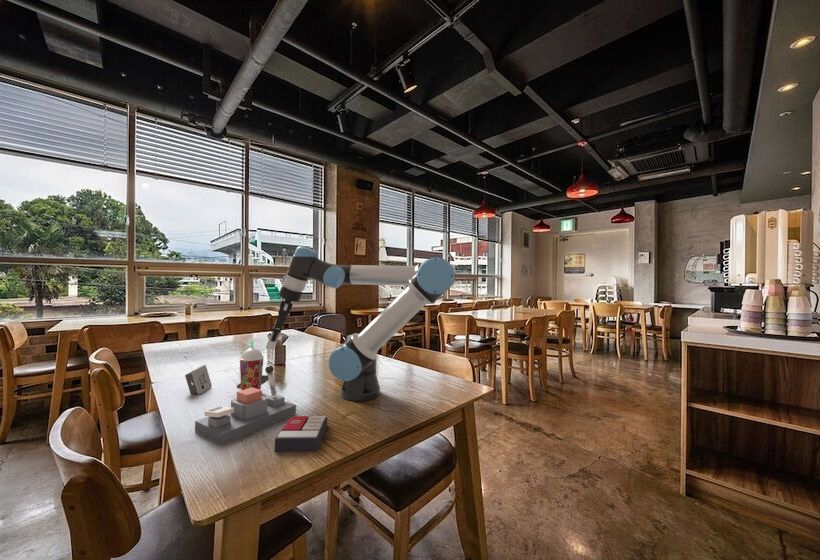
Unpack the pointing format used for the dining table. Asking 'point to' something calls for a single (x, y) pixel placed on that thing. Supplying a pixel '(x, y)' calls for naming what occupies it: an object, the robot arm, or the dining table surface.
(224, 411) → the rocker switch
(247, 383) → the smoothie
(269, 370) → the toggle lever
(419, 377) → the dining table surface
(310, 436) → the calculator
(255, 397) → the push button
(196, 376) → the electrical switch
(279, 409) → the switch panel
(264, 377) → the phone
